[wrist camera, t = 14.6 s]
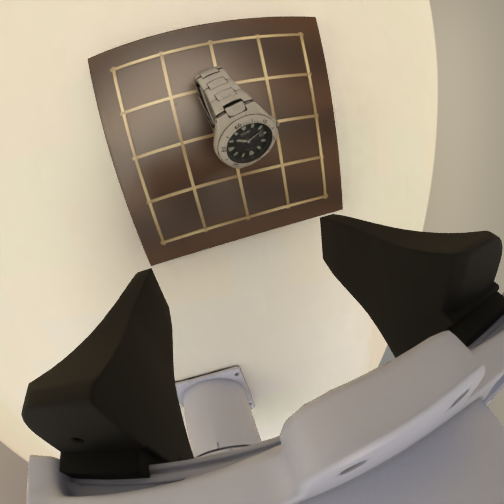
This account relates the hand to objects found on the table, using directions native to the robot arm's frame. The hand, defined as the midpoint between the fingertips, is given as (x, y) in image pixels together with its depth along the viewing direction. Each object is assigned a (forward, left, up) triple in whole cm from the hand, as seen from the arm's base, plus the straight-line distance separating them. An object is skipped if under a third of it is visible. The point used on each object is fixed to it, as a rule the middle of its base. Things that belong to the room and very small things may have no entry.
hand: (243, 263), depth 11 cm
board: (+4, -2, -9) cm, 10 cm away
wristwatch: (+5, -2, -8) cm, 10 cm away
